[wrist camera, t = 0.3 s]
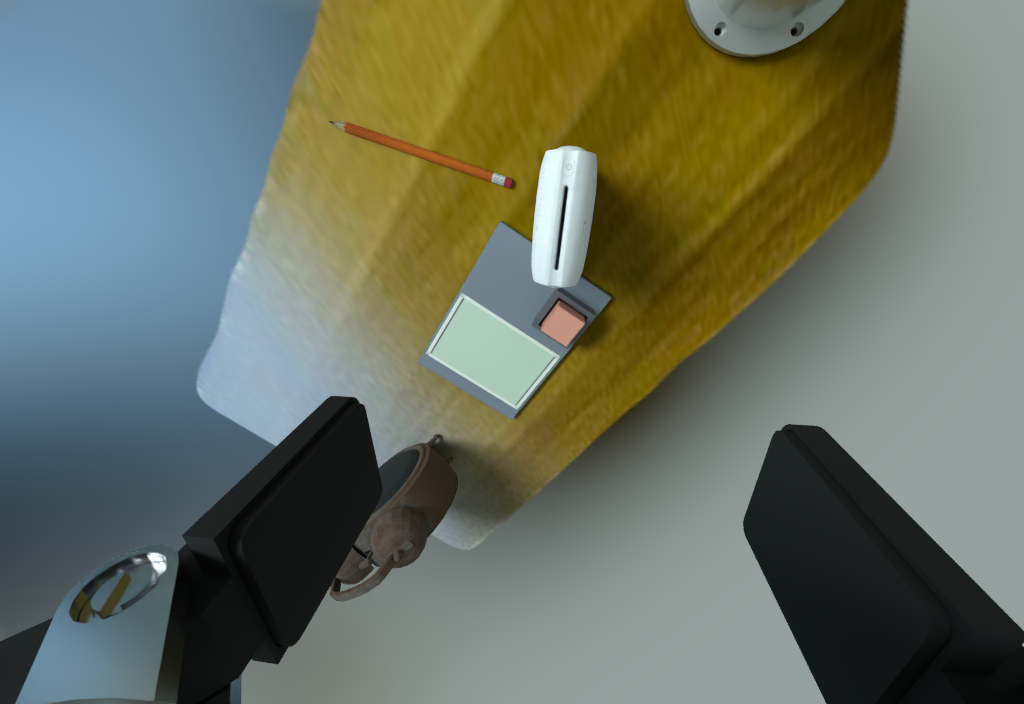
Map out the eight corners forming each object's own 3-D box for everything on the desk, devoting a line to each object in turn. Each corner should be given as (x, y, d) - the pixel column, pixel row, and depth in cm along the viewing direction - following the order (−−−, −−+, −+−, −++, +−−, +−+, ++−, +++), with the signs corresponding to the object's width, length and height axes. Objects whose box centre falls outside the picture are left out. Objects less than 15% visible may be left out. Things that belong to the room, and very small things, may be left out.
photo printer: (548, 156, 35) (538, 136, 24) (594, 159, 35) (606, 141, 24) (536, 266, 39) (523, 294, 28) (578, 270, 39) (581, 301, 28)
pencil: (511, 188, 37) (509, 188, 37) (330, 126, 37) (325, 125, 37) (513, 179, 37) (512, 179, 36) (331, 116, 37) (326, 115, 36)
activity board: (501, 220, 39) (497, 224, 37) (611, 296, 40) (613, 303, 38) (419, 360, 48) (412, 369, 45) (512, 416, 49) (509, 428, 47)
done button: (559, 299, 40) (558, 306, 38) (584, 315, 40) (584, 323, 38) (542, 322, 41) (540, 330, 39) (566, 338, 41) (566, 346, 39)
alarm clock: (441, 415, 51) (371, 550, 33) (474, 452, 53) (424, 597, 35) (370, 456, 56) (277, 590, 39) (402, 488, 58) (328, 629, 41)
